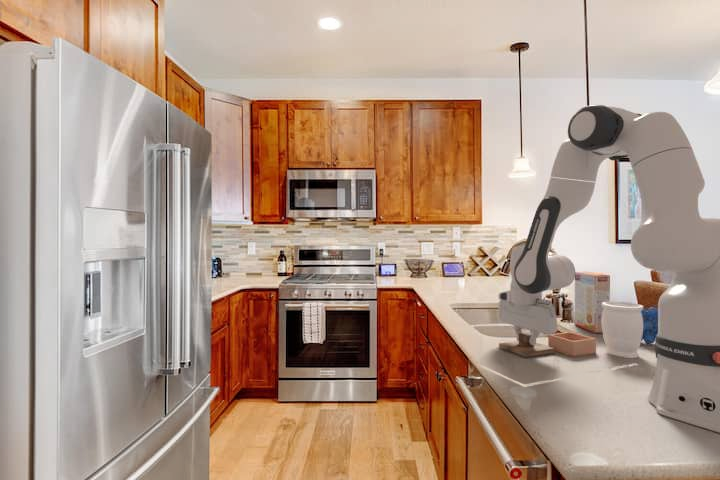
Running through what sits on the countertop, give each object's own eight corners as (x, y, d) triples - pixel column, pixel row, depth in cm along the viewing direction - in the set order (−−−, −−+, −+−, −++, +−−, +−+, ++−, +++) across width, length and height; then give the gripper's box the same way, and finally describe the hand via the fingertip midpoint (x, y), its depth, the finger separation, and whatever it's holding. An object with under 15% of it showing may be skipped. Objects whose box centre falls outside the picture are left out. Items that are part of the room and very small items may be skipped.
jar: (650, 361, 115) (650, 307, 114) (609, 359, 117) (609, 306, 116) (633, 350, 125) (633, 301, 125) (595, 348, 127) (596, 300, 127)
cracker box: (610, 333, 146) (611, 274, 145) (593, 333, 146) (593, 275, 145) (589, 324, 160) (589, 271, 159) (573, 324, 160) (573, 271, 159)
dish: (596, 355, 120) (596, 338, 120) (573, 359, 117) (573, 341, 117) (569, 347, 129) (569, 331, 128) (548, 350, 125) (548, 334, 125)
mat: (556, 355, 120) (556, 353, 120) (525, 360, 116) (525, 358, 116) (526, 345, 131) (526, 343, 131) (496, 349, 127) (496, 347, 127)
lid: (554, 352, 120) (554, 336, 120) (526, 356, 116) (526, 340, 116) (526, 343, 131) (526, 328, 130) (499, 347, 126) (498, 332, 126)
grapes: (671, 343, 132) (672, 306, 132) (670, 348, 127) (670, 309, 126) (629, 338, 139) (629, 302, 139) (625, 342, 134) (625, 305, 134)
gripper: (562, 301, 115) (562, 350, 115) (510, 292, 134) (510, 334, 134) (545, 302, 112) (546, 352, 112) (494, 293, 131) (494, 336, 131)
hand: (526, 342), depth 123 cm, fingers closed on lid, 3 cm apart
